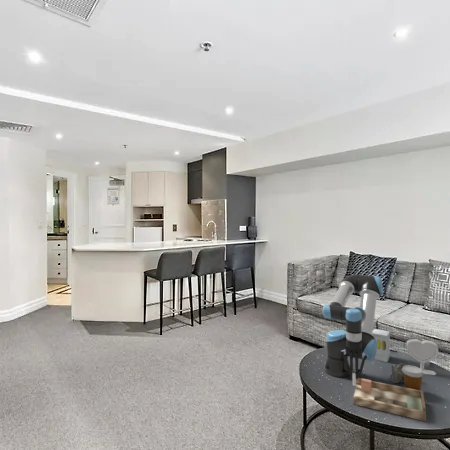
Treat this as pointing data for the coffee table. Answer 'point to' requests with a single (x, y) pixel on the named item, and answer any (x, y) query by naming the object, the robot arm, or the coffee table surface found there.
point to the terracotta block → (366, 385)
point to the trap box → (392, 399)
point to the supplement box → (382, 344)
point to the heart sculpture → (422, 352)
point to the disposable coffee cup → (412, 377)
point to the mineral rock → (397, 373)
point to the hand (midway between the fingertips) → (354, 384)
